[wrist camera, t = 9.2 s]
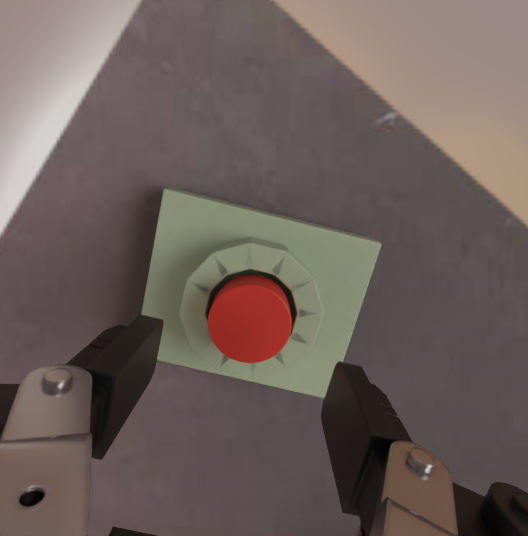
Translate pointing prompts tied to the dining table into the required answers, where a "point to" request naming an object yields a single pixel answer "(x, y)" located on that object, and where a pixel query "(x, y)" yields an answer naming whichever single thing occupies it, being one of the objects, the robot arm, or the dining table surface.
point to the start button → (250, 319)
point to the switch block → (263, 264)
